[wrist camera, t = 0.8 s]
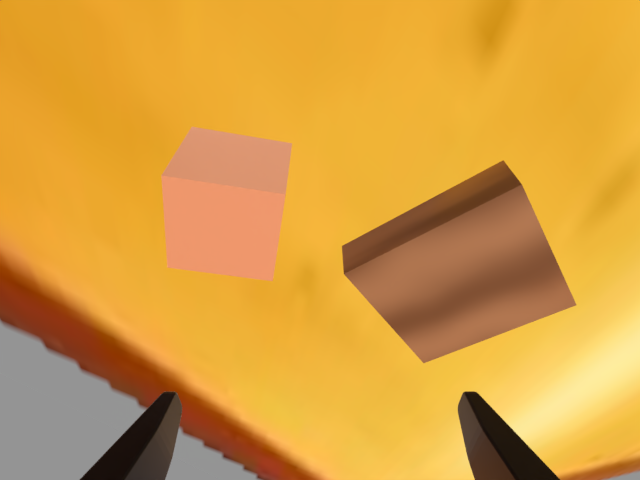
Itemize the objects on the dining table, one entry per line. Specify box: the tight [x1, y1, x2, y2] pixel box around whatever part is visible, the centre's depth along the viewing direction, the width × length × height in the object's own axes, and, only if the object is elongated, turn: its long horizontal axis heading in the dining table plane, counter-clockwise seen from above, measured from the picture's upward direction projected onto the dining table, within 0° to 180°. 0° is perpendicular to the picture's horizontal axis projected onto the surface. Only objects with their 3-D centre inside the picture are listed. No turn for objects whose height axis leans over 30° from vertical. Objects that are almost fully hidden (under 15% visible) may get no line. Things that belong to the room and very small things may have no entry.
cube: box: [161, 127, 292, 281], centre depth 20 cm, size 5×5×5 cm
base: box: [342, 160, 576, 363], centre depth 25 cm, size 10×10×2 cm
